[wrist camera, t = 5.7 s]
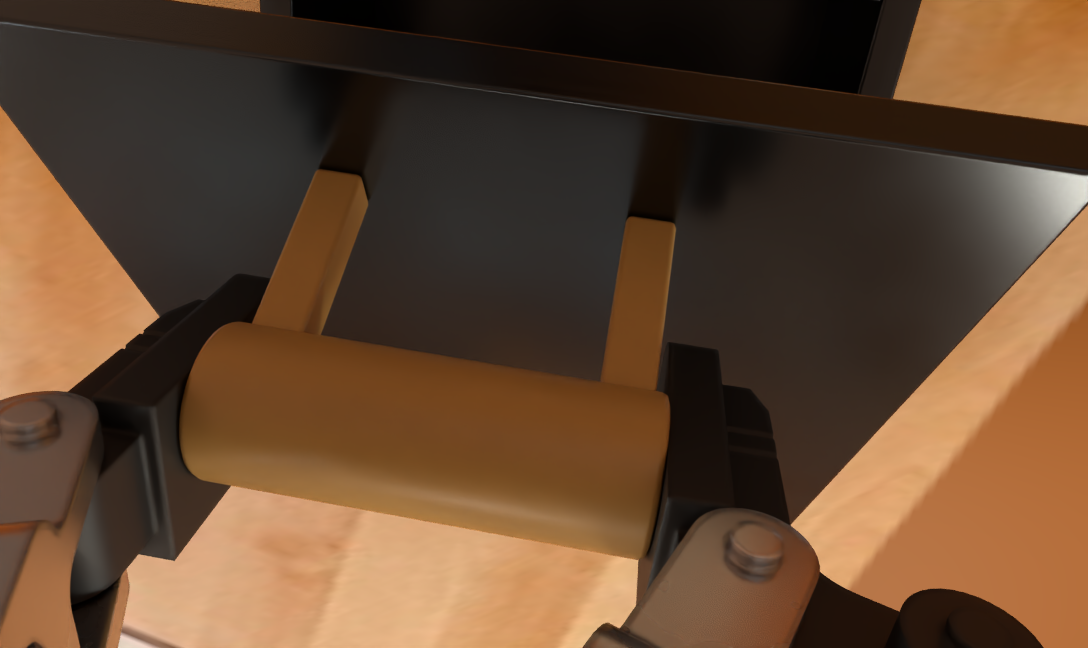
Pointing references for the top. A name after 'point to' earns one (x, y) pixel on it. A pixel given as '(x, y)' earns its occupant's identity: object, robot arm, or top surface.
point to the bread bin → (667, 33)
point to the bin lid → (519, 250)
